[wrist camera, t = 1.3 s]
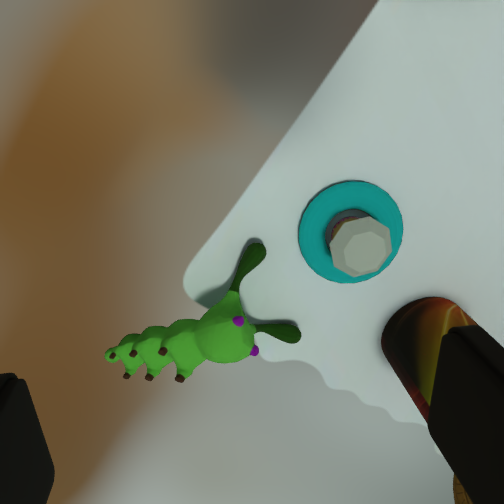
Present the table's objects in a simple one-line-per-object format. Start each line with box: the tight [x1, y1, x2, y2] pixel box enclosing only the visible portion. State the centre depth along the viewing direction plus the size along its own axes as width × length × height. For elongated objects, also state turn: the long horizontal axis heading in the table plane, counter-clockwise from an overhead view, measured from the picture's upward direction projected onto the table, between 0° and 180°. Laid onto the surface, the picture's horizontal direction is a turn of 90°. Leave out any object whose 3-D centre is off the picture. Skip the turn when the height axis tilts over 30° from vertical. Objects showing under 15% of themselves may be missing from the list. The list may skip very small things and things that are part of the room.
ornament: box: [299, 181, 403, 283], centre depth 38 cm, size 11×4×10 cm
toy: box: [105, 243, 301, 383], centre depth 41 cm, size 12×18×10 cm
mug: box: [381, 297, 478, 422], centre depth 41 cm, size 10×14×12 cm
